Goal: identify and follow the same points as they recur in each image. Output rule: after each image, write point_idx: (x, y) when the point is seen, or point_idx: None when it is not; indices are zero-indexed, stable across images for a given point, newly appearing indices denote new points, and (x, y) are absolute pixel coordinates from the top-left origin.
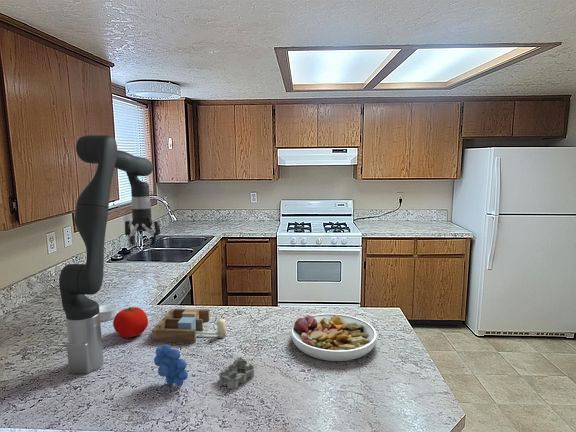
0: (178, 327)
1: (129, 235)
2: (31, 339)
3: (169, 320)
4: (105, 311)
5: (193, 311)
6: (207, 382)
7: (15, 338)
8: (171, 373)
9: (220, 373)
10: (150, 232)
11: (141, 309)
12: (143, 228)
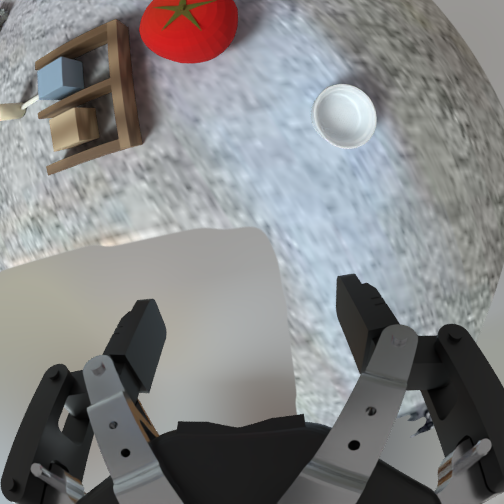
0: (67, 58)
1: (412, 331)
2: (411, 11)
3: (103, 81)
4: (355, 135)
5: (56, 130)
6: (19, 2)
7: (439, 22)
8: None
9: (2, 15)
10: (105, 398)
11: (157, 36)
12: (196, 462)
